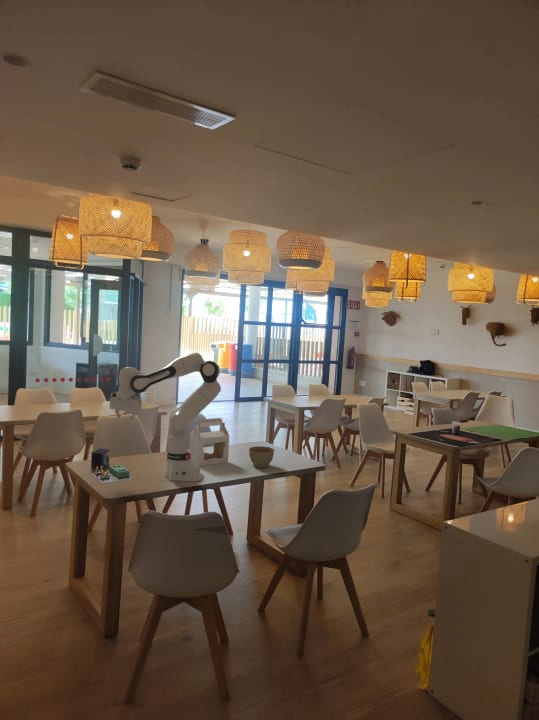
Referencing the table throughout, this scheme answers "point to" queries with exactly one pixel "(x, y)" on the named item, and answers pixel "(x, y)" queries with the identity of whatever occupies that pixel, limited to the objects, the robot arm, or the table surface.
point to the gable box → (209, 437)
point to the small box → (100, 458)
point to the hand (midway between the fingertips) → (125, 418)
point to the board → (119, 471)
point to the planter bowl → (261, 456)
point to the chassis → (107, 476)
